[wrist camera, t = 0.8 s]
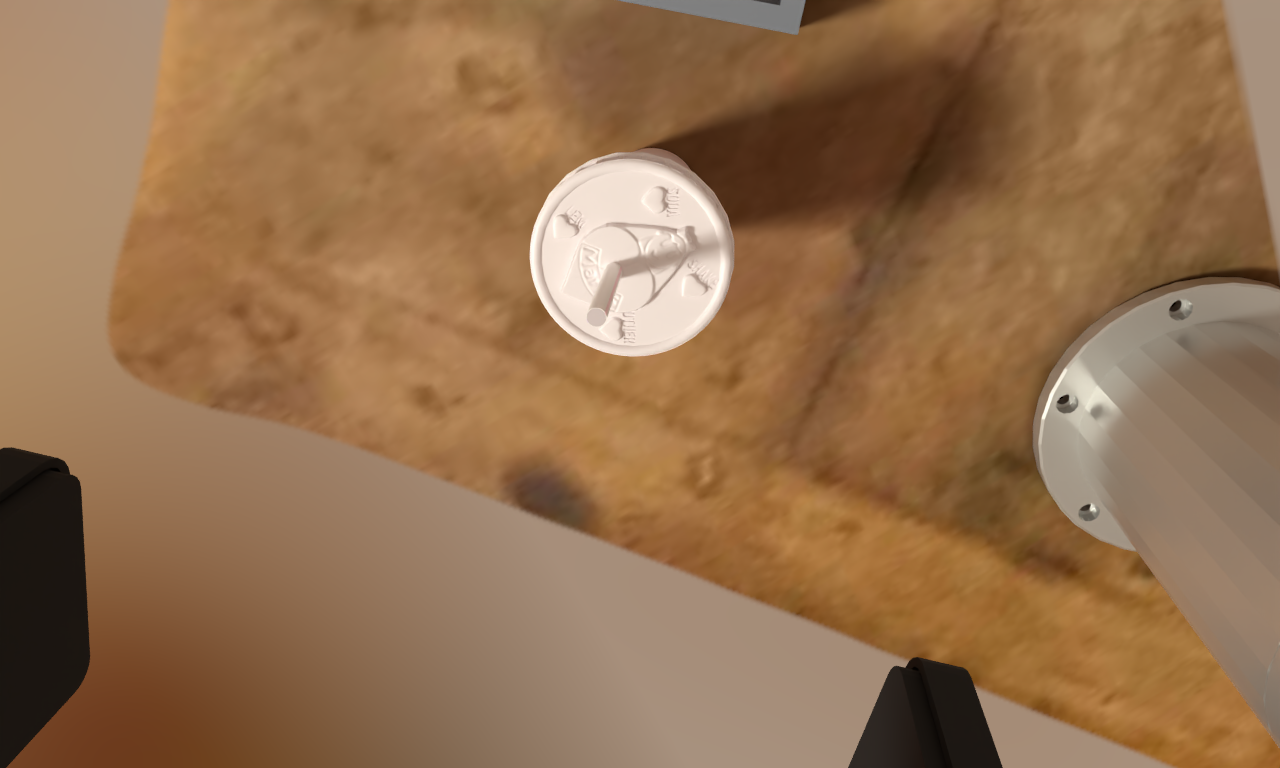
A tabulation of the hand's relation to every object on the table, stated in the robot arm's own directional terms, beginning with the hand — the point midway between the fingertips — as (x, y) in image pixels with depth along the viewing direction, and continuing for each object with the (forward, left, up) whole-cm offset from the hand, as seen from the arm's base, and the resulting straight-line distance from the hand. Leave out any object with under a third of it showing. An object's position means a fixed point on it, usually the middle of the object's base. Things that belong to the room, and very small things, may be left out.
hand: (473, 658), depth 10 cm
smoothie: (0, +1, -29) cm, 29 cm away
